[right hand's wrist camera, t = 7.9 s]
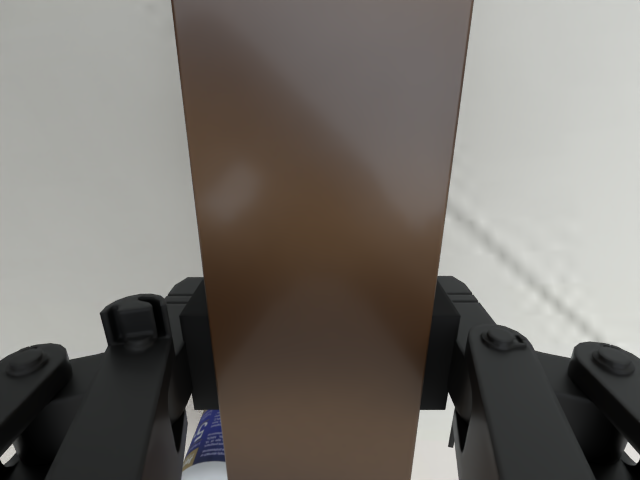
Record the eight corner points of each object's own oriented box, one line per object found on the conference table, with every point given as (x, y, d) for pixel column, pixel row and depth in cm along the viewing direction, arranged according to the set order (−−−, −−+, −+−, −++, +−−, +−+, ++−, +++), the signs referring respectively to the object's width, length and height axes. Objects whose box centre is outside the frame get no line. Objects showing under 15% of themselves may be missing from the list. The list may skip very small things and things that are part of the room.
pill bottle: (204, 380, 25) (145, 519, 17) (280, 387, 25) (259, 527, 17) (206, 437, 27) (152, 587, 19) (276, 443, 27) (255, 594, 19)
